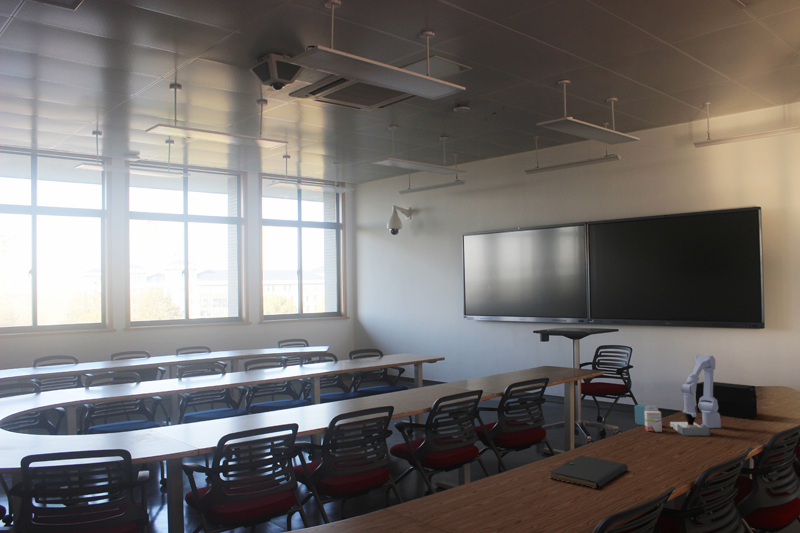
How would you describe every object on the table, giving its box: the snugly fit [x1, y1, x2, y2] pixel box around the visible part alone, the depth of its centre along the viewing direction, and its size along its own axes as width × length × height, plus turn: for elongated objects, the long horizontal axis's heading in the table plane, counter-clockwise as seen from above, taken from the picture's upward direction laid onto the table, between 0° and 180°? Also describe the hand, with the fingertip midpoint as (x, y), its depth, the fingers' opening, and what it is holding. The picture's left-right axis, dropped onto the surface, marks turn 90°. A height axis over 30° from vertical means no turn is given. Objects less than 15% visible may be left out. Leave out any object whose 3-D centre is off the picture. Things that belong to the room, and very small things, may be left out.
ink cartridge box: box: [644, 405, 663, 433], centre depth 343 cm, size 9×5×15 cm, turn 84°
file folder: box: [549, 455, 629, 489], centre depth 267 cm, size 33×4×24 cm
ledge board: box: [669, 421, 703, 432], centre depth 345 cm, size 14×14×2 cm
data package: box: [633, 404, 654, 426], centre depth 359 cm, size 12×4×12 cm, turn 39°
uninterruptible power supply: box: [695, 381, 758, 420], centre depth 379 cm, size 16×34×20 cm, turn 36°
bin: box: [677, 423, 711, 437], centre depth 333 cm, size 15×9×4 cm, turn 82°
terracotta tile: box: [687, 425, 699, 428], centre depth 333 cm, size 5×5×2 cm
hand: (690, 426), depth 337 cm, fingers closed
